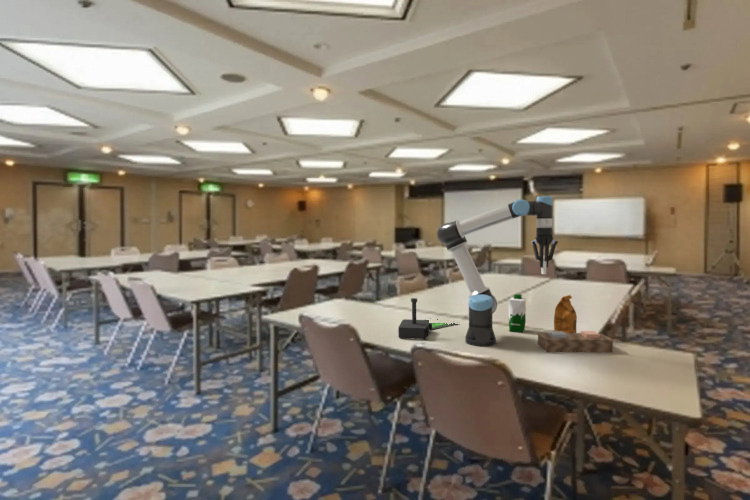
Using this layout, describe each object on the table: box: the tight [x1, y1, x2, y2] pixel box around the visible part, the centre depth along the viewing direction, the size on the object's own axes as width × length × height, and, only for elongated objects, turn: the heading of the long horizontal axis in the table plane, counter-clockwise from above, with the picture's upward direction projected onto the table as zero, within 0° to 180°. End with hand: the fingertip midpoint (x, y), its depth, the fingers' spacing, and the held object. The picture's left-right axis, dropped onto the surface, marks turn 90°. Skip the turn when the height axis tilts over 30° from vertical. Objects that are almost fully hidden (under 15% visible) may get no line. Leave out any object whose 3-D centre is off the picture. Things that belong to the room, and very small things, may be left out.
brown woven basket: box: [537, 332, 614, 353], centre depth 200 cm, size 30×12×6 cm, turn 87°
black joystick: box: [397, 297, 433, 340], centre depth 229 cm, size 19×17×20 cm
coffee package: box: [553, 294, 578, 333], centre depth 219 cm, size 10×12×22 cm
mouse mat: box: [431, 319, 458, 331], centre depth 254 cm, size 27×22×1 cm
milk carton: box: [508, 293, 527, 334], centre depth 234 cm, size 9×9×20 cm
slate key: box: [548, 330, 567, 338], centre depth 200 cm, size 6×6×5 cm
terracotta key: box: [580, 330, 600, 338], centre depth 200 cm, size 6×6×5 cm
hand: (543, 273), depth 212 cm, fingers closed
